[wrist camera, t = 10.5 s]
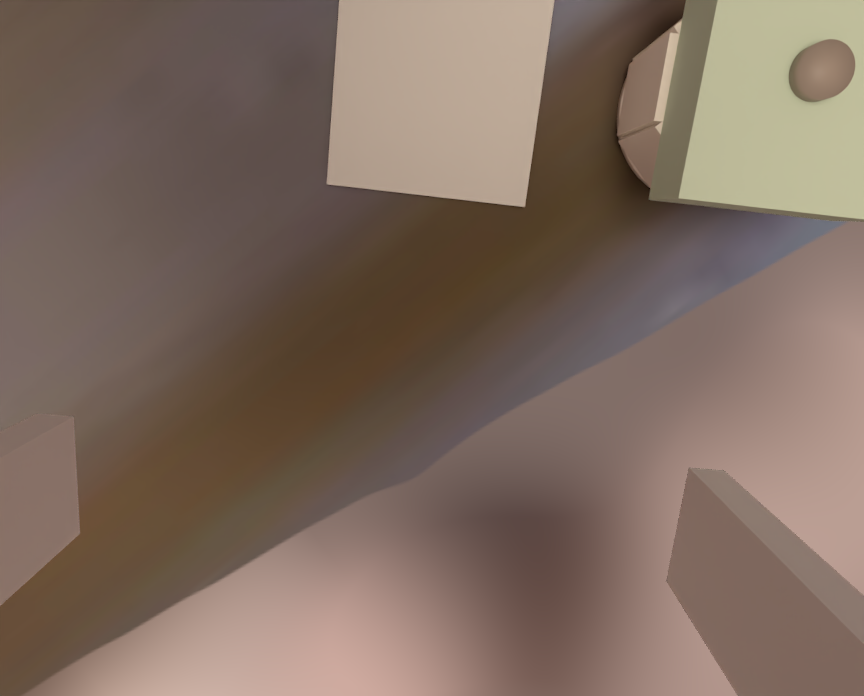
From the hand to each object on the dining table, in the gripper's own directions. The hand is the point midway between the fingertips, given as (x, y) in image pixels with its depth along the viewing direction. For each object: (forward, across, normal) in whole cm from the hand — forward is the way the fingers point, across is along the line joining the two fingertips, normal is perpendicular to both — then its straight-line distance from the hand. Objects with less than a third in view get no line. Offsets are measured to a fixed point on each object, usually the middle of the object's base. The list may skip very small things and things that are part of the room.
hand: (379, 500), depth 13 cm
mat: (+28, 0, +14) cm, 32 cm away
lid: (+21, +17, +14) cm, 30 cm away
